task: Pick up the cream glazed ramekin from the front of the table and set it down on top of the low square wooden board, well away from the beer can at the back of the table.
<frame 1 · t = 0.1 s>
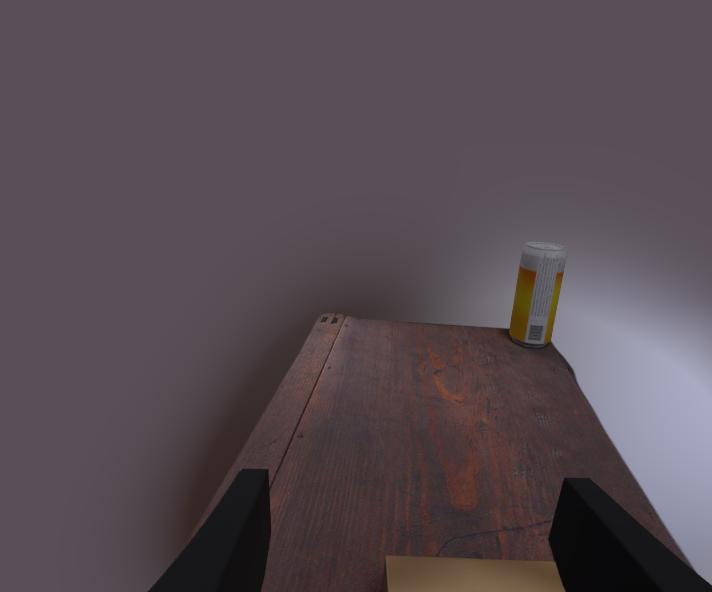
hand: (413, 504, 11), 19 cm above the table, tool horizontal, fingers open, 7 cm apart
beer can: (528, 342, 72), on the table
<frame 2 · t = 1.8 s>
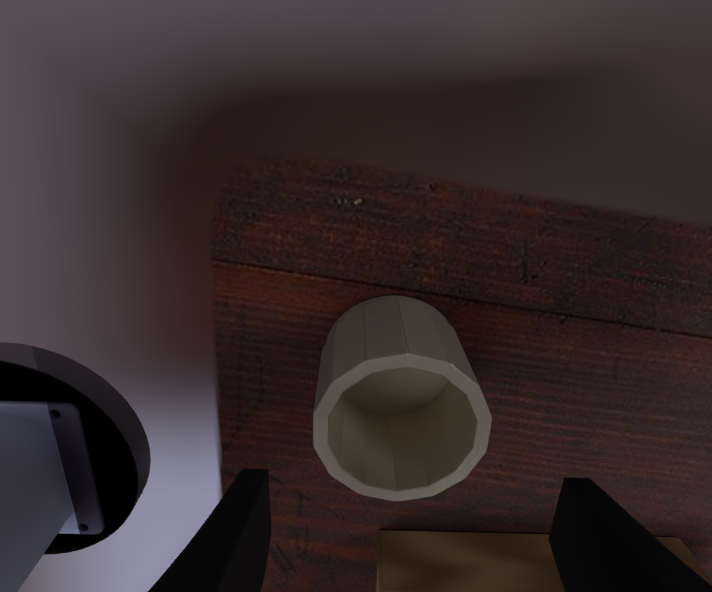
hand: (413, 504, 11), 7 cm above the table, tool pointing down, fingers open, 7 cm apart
ramekin: (391, 358, 18), on the table
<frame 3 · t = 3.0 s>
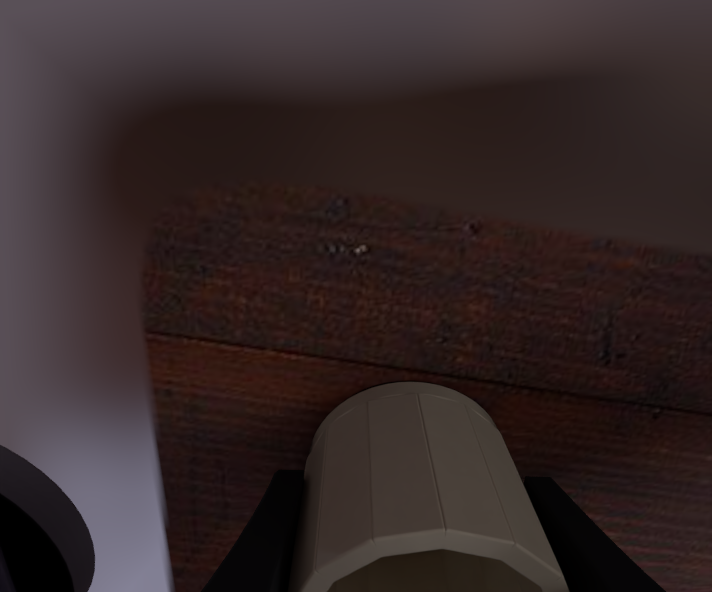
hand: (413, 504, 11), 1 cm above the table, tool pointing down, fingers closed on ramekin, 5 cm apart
ramekin: (405, 463, 13), on the table, touching gripper
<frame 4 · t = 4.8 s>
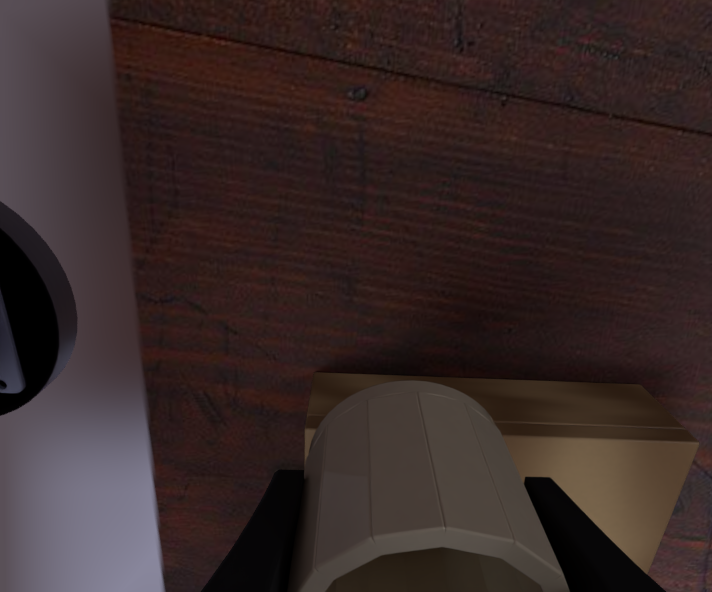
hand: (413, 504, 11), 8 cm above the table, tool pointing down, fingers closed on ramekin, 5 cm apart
ramekin: (405, 462, 13), point 7 cm above the table, touching gripper
square wooden board: (454, 517, 23), on the table
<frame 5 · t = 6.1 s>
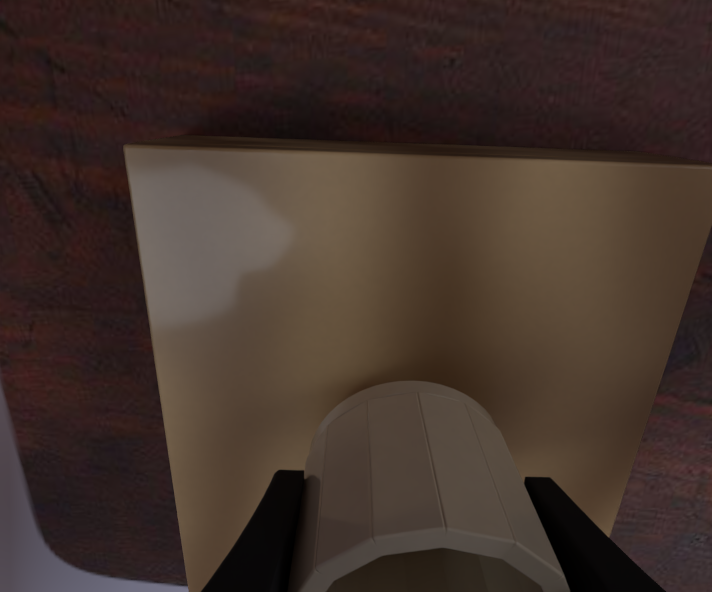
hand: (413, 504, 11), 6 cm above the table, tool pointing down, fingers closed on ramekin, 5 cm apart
ramekin: (406, 463, 13), point 5 cm above the table, touching gripper
square wooden board: (394, 370, 17), on the table
when the fingers open (5 cm above the table, at t = 6.9 s): ramekin stays where it is, resting on square wooden board.
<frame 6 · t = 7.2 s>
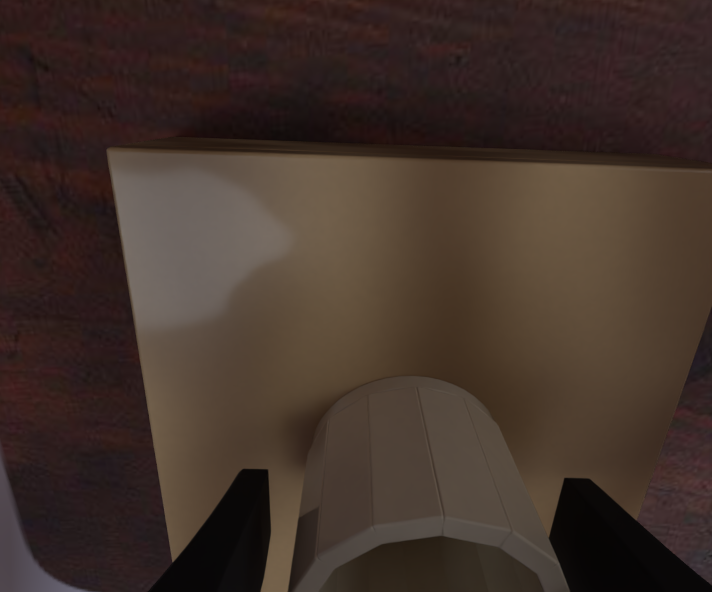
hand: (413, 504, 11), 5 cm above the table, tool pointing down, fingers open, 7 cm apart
ramekin: (405, 457, 13), point 4 cm above the table, touching square wooden board
square wooden board: (396, 382, 16), on the table
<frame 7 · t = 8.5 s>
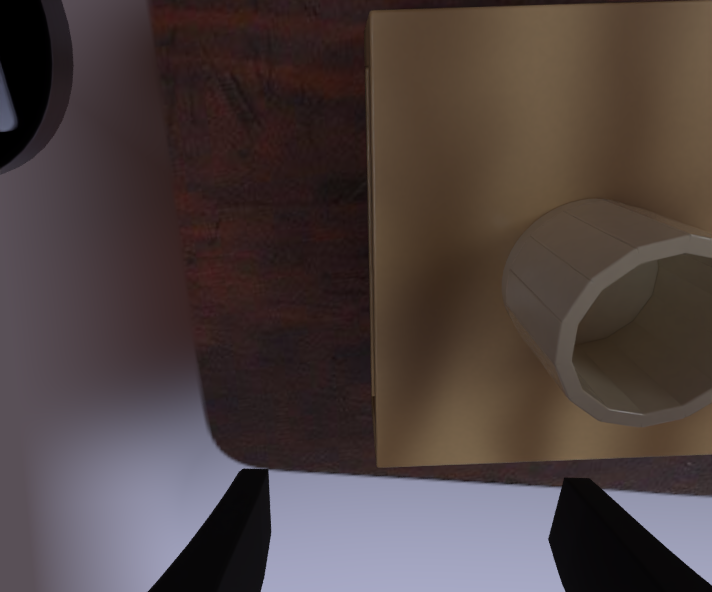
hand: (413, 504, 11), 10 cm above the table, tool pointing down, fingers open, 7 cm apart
ramekin: (579, 276, 16), point 4 cm above the table, touching square wooden board
square wooden board: (537, 245, 19), on the table
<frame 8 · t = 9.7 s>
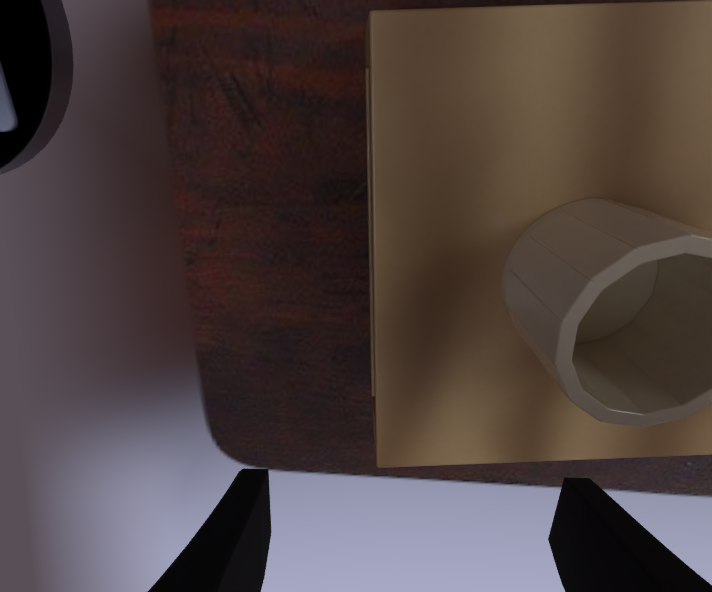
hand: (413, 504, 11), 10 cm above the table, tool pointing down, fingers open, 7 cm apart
ramekin: (579, 276, 16), point 4 cm above the table, touching square wooden board
square wooden board: (537, 245, 19), on the table
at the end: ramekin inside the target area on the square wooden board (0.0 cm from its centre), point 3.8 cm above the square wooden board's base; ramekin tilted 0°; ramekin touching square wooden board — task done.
